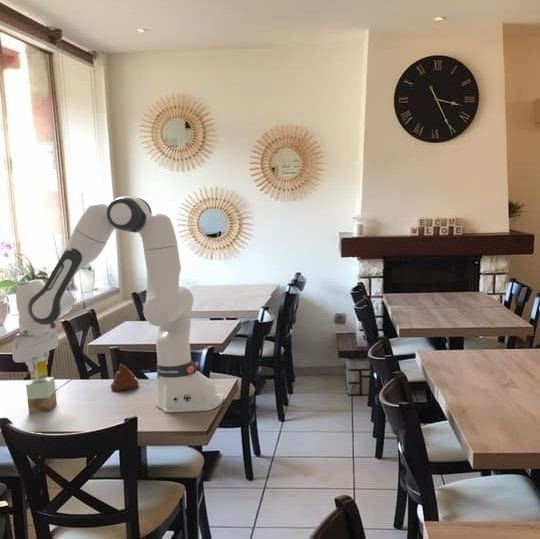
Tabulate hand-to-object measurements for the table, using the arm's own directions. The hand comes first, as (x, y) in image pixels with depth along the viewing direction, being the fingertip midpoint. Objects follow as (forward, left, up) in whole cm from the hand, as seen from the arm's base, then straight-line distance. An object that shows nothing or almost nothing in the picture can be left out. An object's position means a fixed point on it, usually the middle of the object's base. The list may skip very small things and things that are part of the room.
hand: (38, 367), depth 196 cm
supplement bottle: (0, 0, -4) cm, 4 cm away
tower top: (0, 0, -10) cm, 10 cm away
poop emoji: (-19, -23, -15) cm, 33 cm away
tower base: (0, 0, -15) cm, 15 cm away
